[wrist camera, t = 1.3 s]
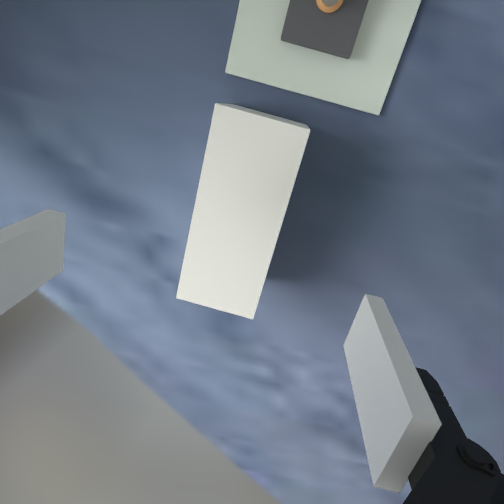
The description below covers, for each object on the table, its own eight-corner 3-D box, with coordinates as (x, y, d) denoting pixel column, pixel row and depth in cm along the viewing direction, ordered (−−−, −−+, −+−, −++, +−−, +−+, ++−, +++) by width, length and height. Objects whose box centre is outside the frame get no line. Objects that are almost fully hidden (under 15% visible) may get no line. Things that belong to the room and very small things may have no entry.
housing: (260, 278, 34) (252, 319, 28) (198, 261, 34) (176, 297, 28) (306, 124, 29) (310, 129, 22) (232, 104, 29) (215, 103, 22)
